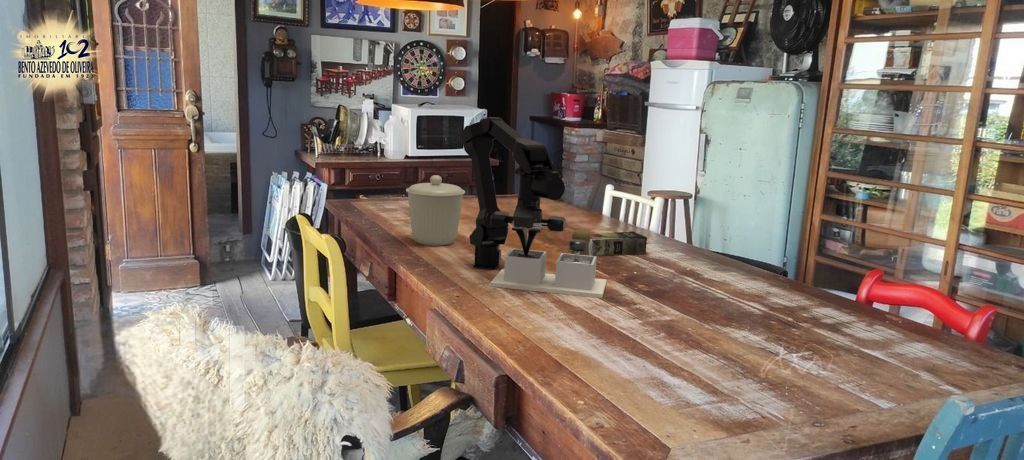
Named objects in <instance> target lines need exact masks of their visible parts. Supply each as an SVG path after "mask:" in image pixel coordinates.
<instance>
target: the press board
mask: <svg viewBox="0 0 1024 460" xmlns="http://www.w3.org/2000/svg"><path fill="white" fill-rule="evenodd" d="M520 252H523V248H522V249H521V248H511V249H510V250H509V251H508V252H507V253H506V255H504V266H503V267H504V268H502V269H501V270H500V271H499V272H498V273H497V274H496V275H495V277H493V279H492V280H491V281H490V288H491V287H493V288H501V289H502V288H504V289H512V290H522V291H530V292H540V293H548V294H549V293H550V294H559V295H570V296H576V297H577V296H578V297H588V298H596V299H603V297H604V293H605V289H606V286H607V280H608V279H605V278H596V271H597V258H598V256H587V255H579V257H580V258H585V259H588V260H590V264H585V263H575V262H565V261H563V259H564V258H567V257H575V254H571V253H566V252H565V253H564V252H563V253H562V252H560V255H558V258H557V259H556V261H555V274H554V273H546V269H547V253H548V252H547V251H543V250H535V249H534V250H533V249H530V250H529V253H533V254H535V259H534V258H523V257H518V253H520Z"/></svg>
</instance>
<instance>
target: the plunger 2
mask: <svg viewBox="0 0 1024 460" xmlns="http://www.w3.org/2000/svg"><path fill="white" fill-rule="evenodd" d="M568 242H569V243H568V250H569V251H572V250H573V251H575V257H567V258H564V259H563V261H565V262H575V263H585V264H590V260H588V259H585V258H580V257H579V255H580V251H586V247H587V242H586V241H584V240H576V239H575V240H572V239H570V240H569V241H568Z"/></svg>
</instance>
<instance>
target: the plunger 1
mask: <svg viewBox="0 0 1024 460" xmlns="http://www.w3.org/2000/svg"><path fill="white" fill-rule="evenodd" d="M518 257H523V258H534V259H535V254H533V253H529V252H528V254H527V255H526V254H524V252H520V253H518Z"/></svg>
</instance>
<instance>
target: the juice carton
mask: <svg viewBox="0 0 1024 460" xmlns="http://www.w3.org/2000/svg"><path fill="white" fill-rule="evenodd" d="M590 235H591V239H590V241H589V243H588V246H589V256H597V257H608V256H609V257H610V256H633V255H634V256H637V255H646V253H647V244H648V243H647V241H648V237H647V236H645V235H643V234H641V233H637V232H636V231H634V230H633V231H632V230H631V231H623V232H622V231H621V232H619V231H617V232H616V231H615V232H613V231H612V232H590Z"/></svg>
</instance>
